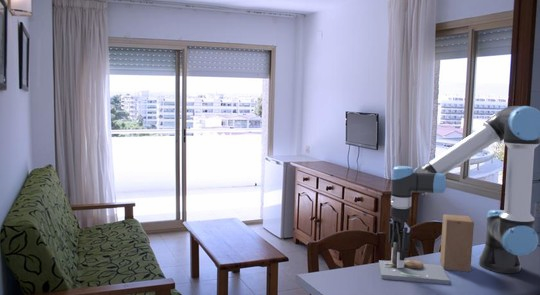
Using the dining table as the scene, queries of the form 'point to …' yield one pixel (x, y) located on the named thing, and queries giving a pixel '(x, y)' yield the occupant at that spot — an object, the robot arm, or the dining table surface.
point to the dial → (408, 263)
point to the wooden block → (456, 242)
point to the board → (414, 273)
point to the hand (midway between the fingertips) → (397, 265)
